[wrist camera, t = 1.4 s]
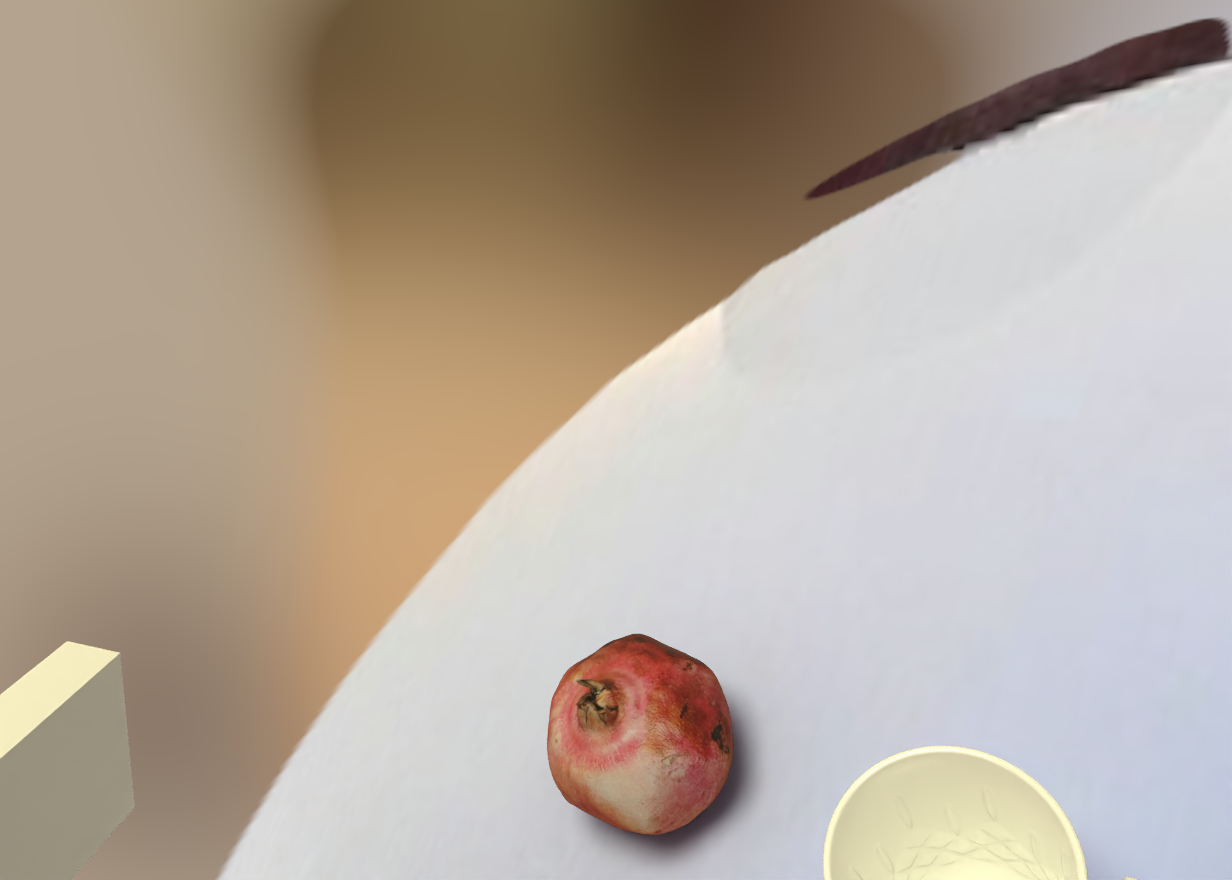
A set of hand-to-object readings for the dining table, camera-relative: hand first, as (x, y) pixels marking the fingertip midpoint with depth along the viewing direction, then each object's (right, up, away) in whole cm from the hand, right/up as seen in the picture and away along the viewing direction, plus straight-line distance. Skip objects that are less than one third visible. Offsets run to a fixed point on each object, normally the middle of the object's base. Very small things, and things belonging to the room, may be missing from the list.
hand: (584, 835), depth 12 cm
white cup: (+15, -15, +22) cm, 31 cm away
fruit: (+3, -12, +34) cm, 36 cm away
